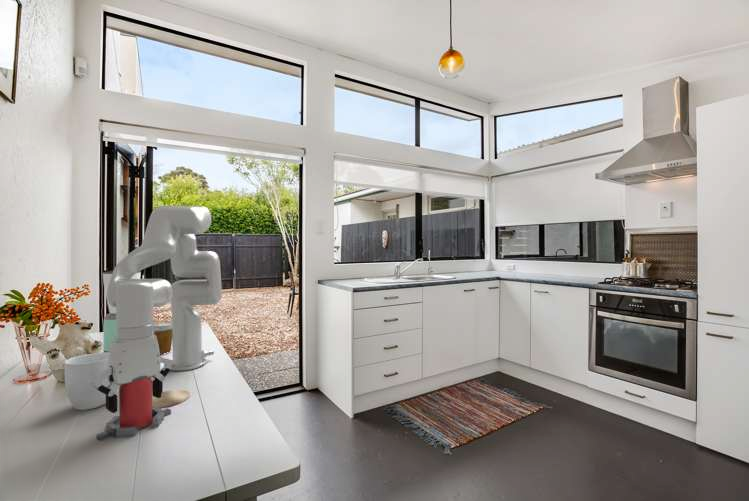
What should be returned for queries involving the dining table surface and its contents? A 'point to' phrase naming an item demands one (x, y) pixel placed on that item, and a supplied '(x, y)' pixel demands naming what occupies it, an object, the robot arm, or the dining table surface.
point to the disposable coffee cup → (164, 336)
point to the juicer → (111, 315)
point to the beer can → (136, 403)
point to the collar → (130, 430)
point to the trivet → (170, 398)
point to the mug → (85, 380)
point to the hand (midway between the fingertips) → (135, 403)
